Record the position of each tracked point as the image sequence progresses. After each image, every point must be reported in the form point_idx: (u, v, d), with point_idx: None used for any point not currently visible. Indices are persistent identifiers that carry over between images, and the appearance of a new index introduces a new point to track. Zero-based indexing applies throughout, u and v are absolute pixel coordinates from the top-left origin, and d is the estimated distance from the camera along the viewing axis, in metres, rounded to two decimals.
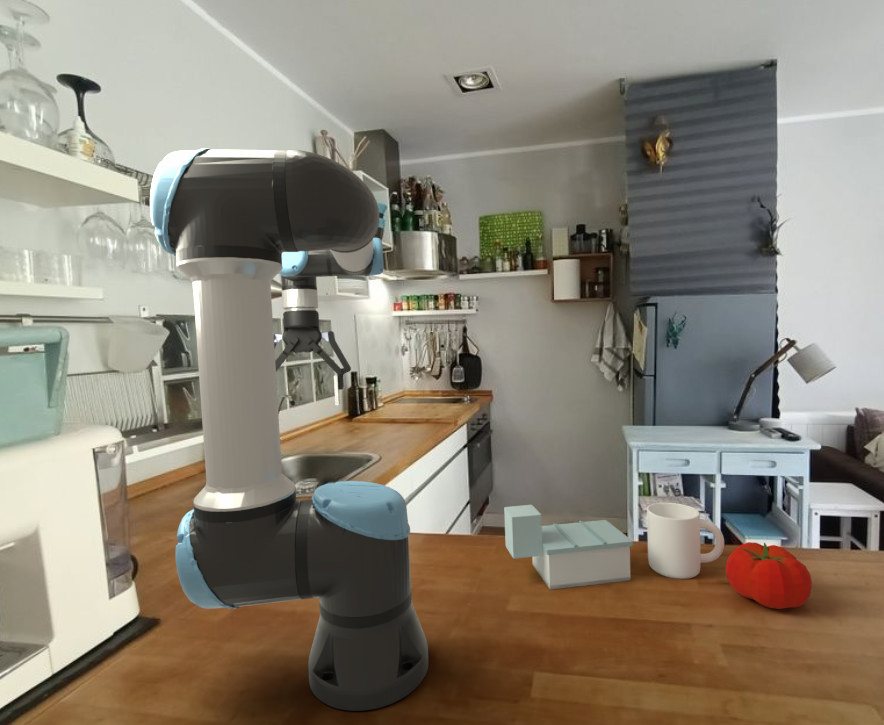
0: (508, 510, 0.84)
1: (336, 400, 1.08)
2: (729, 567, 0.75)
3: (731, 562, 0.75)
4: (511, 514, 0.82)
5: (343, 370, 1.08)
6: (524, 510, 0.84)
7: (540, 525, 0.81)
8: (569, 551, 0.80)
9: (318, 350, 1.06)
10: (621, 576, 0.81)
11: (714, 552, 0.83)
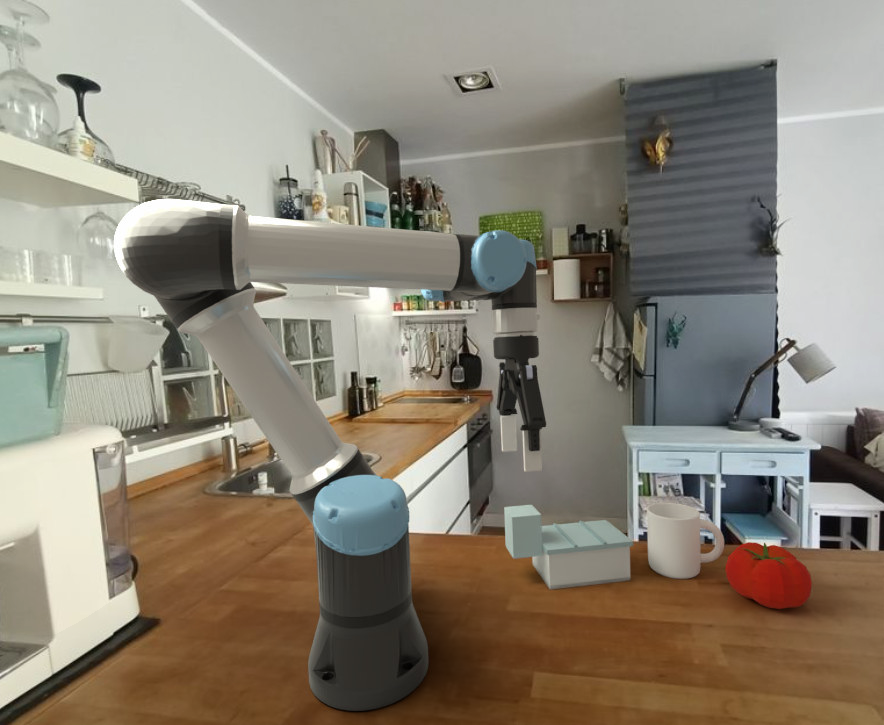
0: (508, 510, 0.84)
1: (524, 464, 0.76)
2: (729, 567, 0.75)
3: (731, 562, 0.75)
4: (511, 514, 0.82)
5: None
6: (524, 510, 0.84)
7: (540, 525, 0.81)
8: (569, 551, 0.80)
9: (513, 390, 0.79)
10: (621, 576, 0.81)
11: (714, 552, 0.83)
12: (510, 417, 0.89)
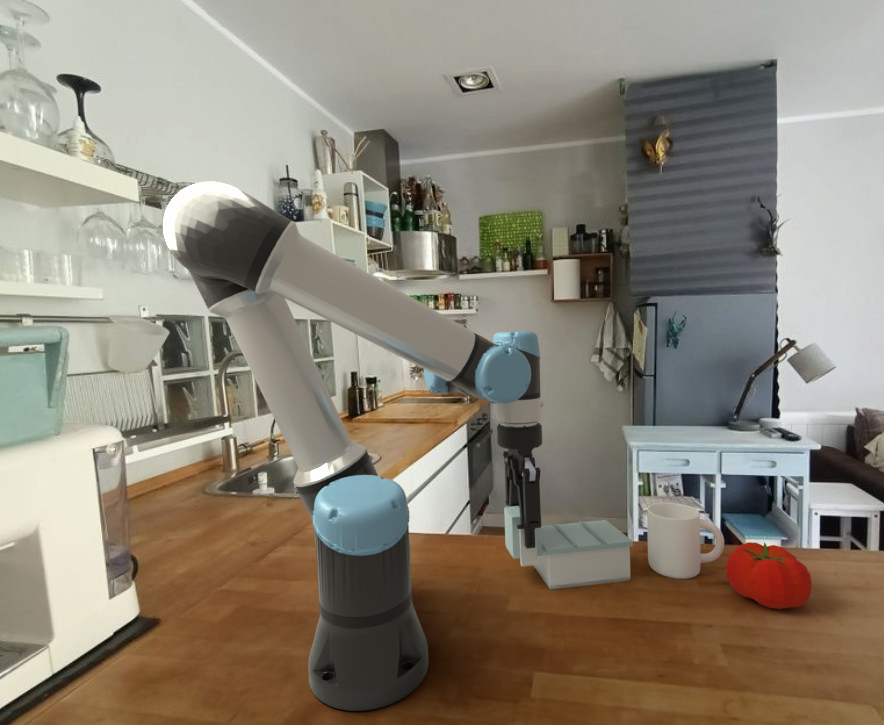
0: (508, 510, 0.84)
1: (520, 559, 0.81)
2: (729, 567, 0.75)
3: (731, 562, 0.75)
4: (511, 514, 0.82)
5: None
6: None
7: None
8: (569, 551, 0.80)
9: (515, 483, 0.81)
10: (621, 576, 0.81)
11: (714, 552, 0.83)
12: None
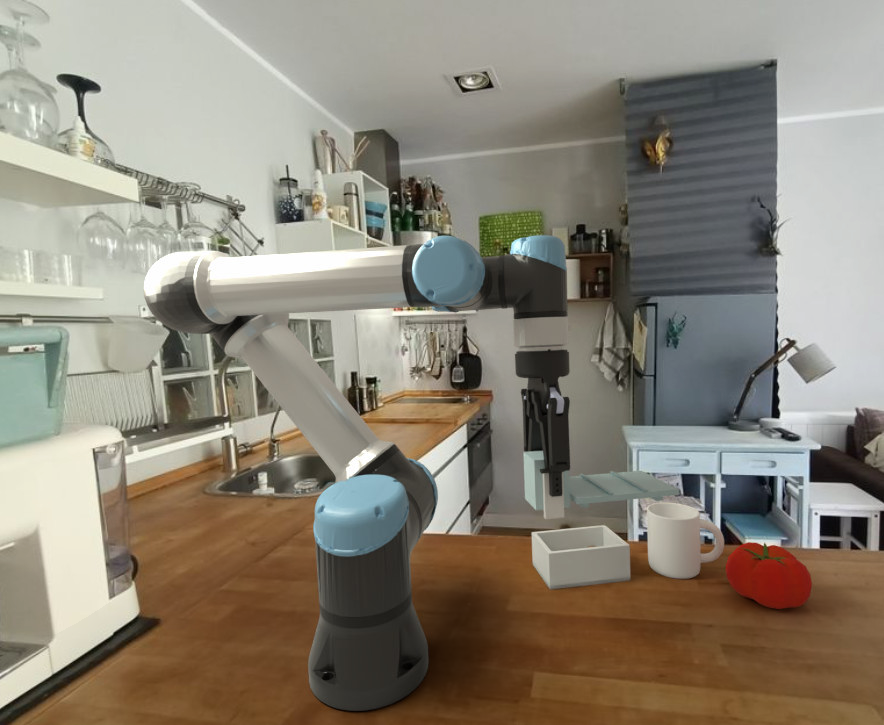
0: (528, 454, 0.70)
1: (544, 510, 0.67)
2: (729, 567, 0.75)
3: (731, 562, 0.75)
4: (533, 457, 0.68)
5: None
6: None
7: (568, 470, 0.68)
8: (603, 500, 0.66)
9: (537, 419, 0.67)
10: (621, 576, 0.81)
11: (714, 552, 0.83)
12: None
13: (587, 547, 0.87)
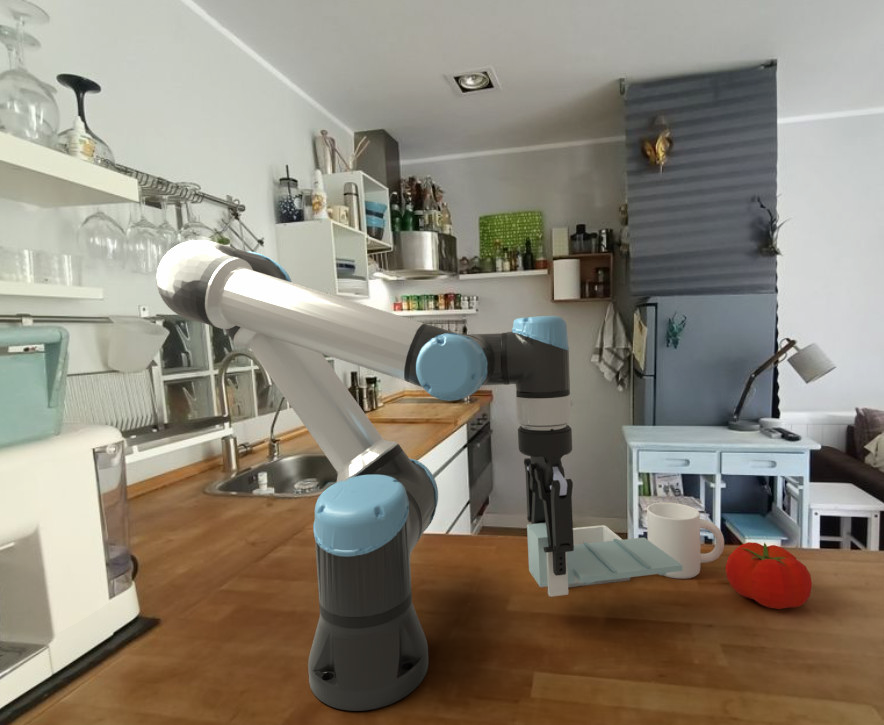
0: (532, 528, 0.71)
1: (548, 587, 0.68)
2: (729, 567, 0.75)
3: (731, 562, 0.75)
4: (536, 534, 0.69)
5: None
6: None
7: None
8: (607, 578, 0.67)
9: (540, 497, 0.68)
10: None
11: (714, 552, 0.83)
12: None
13: None
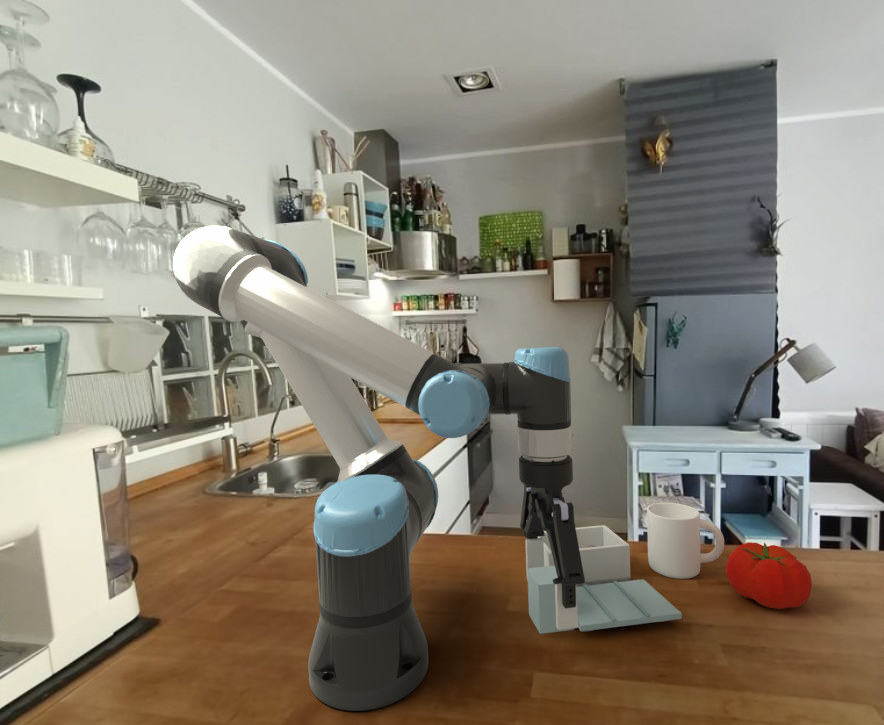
0: (532, 574, 0.71)
1: (556, 620, 0.64)
2: (729, 567, 0.75)
3: (731, 562, 0.75)
4: (537, 580, 0.69)
5: None
6: (551, 573, 0.71)
7: None
8: (607, 626, 0.67)
9: (544, 527, 0.67)
10: (621, 576, 0.81)
11: (714, 552, 0.83)
12: (537, 542, 0.77)
13: (587, 547, 0.87)
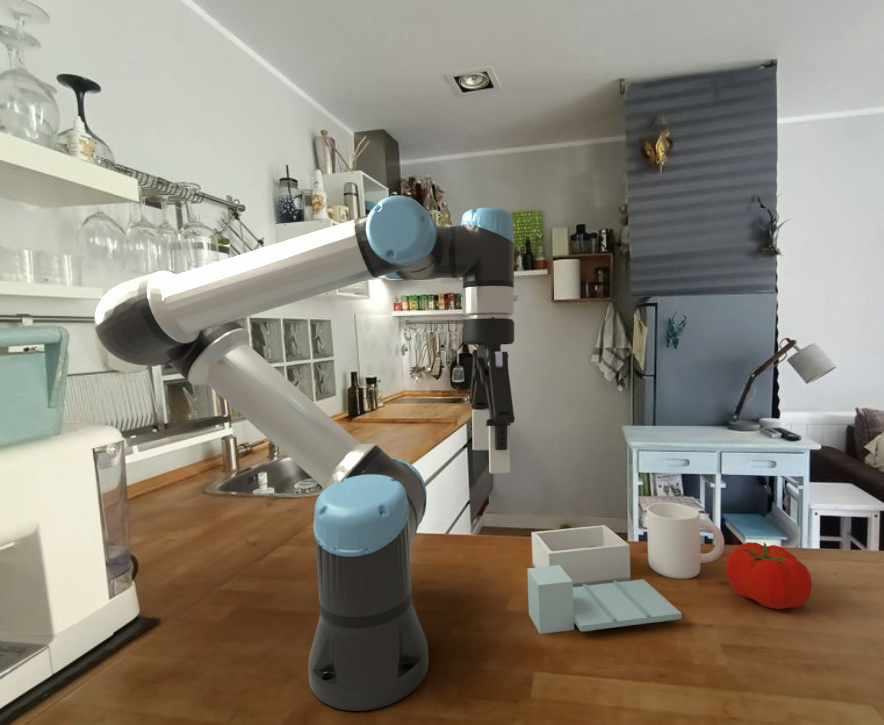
0: (532, 574, 0.71)
1: (489, 464, 0.66)
2: (729, 567, 0.75)
3: (731, 562, 0.75)
4: (537, 580, 0.69)
5: None
6: (551, 573, 0.71)
7: (571, 594, 0.69)
8: (607, 626, 0.67)
9: (482, 380, 0.69)
10: (621, 576, 0.81)
11: (714, 552, 0.83)
12: (483, 411, 0.79)
13: (587, 547, 0.87)
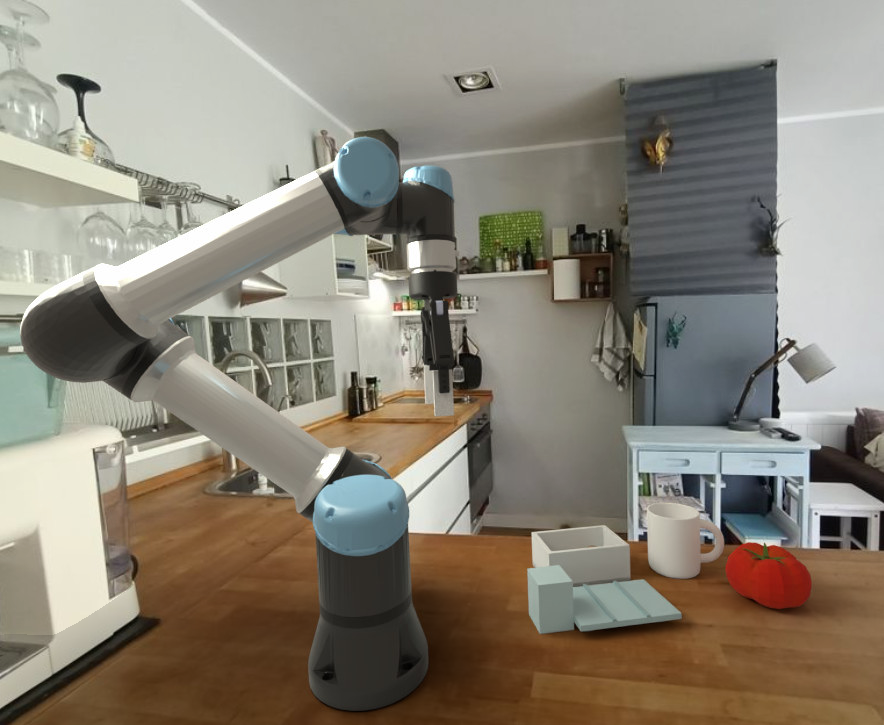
0: (532, 574, 0.71)
1: (434, 408, 0.70)
2: (729, 567, 0.75)
3: (731, 562, 0.75)
4: (537, 580, 0.69)
5: None
6: (551, 573, 0.71)
7: (571, 594, 0.69)
8: (607, 626, 0.67)
9: (426, 330, 0.72)
10: (621, 576, 0.81)
11: (714, 552, 0.83)
12: None
13: (587, 547, 0.87)
